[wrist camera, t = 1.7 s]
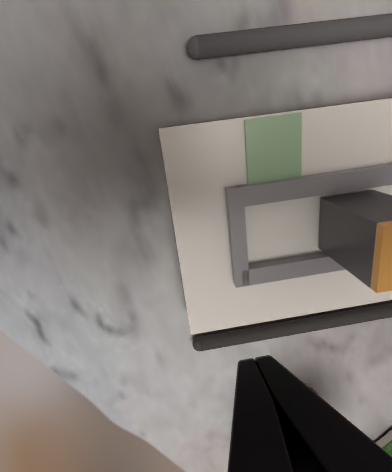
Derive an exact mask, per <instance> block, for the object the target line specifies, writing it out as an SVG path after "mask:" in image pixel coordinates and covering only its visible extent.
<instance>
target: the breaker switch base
mask: <svg viewBox="0 0 392 472" xmlns="http://www.w3.org/2000/svg"><path fill="white" fill-rule="evenodd" d="M159 135H160V141H161V148H162V154H163V161H164V167H165V173H166V180H167V186H168V192H169V199H170V205H171V212H172V218H173V224H174V231H175V237H176V243H177V250H178V256H179V263H180V269H181V275H182V282H183V288H184V294H185V301H186V307H187V314H188V320H189V326H190V333H191V335H193V334H198V333H204V332H210V331H215V330H221V329H227V328H233V327H238V326H244V325H250V324H256V323H261V322H267V321H273V320H279V319H284V318H290V317H296V316H302V315H307V314H313V313H319V312H325V311H330V310H336V309H342V308H348V307H353V306H359V305H365V304H371V303H376V302H382V301H388V300H392V291H387V292H381V293H376V292H374V291H373V290H372V289H370V288H369V287H368V286H367V285H365V284H364V283H363V282H361V281H360V280H359V279H358V278H356V277H355V276H354V275H352V274H351V273H350V272H348V271H347V270H346V269H345V268H343V267H342V266H341V265H339V264H338V263H337V262H336V261H334V260H333V259H332V258H330V257H329V256H328V255H326V254H325V253H324V252H323V251H321V250H320V249H319V223H320V198H321V197H328V196H335V195H341V194H348V193H355V192H362V191H368V190H376V191H379V192H382V193H386V194H389V195H392V98H388V99H380V100H372V101H365V102H357V103H349V104H342V105H334V106H326V107H319V108H311V109H303V110H296V111H288V112H280V113H273V114H265V115H257V116H250V117H242V118H234V119H227V120H219V121H211V122H204V123H196V124H188V125H181V126H173V127H165V128H159Z"/></svg>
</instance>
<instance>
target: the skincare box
mask: <svg viewBox="0 0 392 472" xmlns="http://www.w3.org/2000/svg"><path fill="white" fill-rule="evenodd" d="M375 443H376V444H377V445H378V446H380V447H381V448H382V449H383V450H384V451H386V452H387V453H388V454H389V455H390V456H392V430H390V431H389V432H388V433H387V434H386V435H385V436H383V437H382V438H381V439H379V440H378V441H377V442H375Z"/></svg>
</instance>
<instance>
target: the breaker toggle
mask: <svg viewBox="0 0 392 472" xmlns="http://www.w3.org/2000/svg"><path fill="white" fill-rule="evenodd" d="M319 249H320V250H321V251H323V252H324V253H325V254H326V255H328V256H329V257H330V258H332V259H333V260H334V261H336V262H337V263H338V264H339V265H341V266H342V267H343V268H345V269H346V270H347V271H348V272H350V273H351V274H352V275H354V276H355V277H356V278H358V279H359V280H360V281H361V282H363V283H364V284H365V285H367V286H368V287H369V288H370V289H372V290H373V291H374V292H376V293H381V292H387V291H392V195H389V194H386V193H382V192H379V191H376V190H368V191H362V192H355V193H348V194H341V195H335V196H328V197H321V198H320V223H319Z"/></svg>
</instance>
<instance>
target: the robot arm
mask: <svg viewBox="0 0 392 472" xmlns="http://www.w3.org/2000/svg"><path fill="white" fill-rule="evenodd" d="M228 472H392V456H390V455H389V454H388V453H387V452H386V451H384V450H383V449H382V448H381V447H380V446H378V445H377V444H376V443H375V442H374V441H372V440H371V439H370V438H369V437H368V436H366V435H365V434H364V433H363V432H362V431H360V430H359V429H358V428H357V427H356V426H354V425H353V424H352V423H351V422H350V421H348V420H347V419H346V418H345V417H344V416H342V415H341V414H340V413H339V412H338V411H336V410H335V409H334V408H333V407H332V406H330V405H329V404H328V403H327V402H326V401H324V400H323V399H322V398H321V397H320V396H318V395H317V394H316V393H315V392H314V391H312V390H311V389H310V388H309V387H308V386H306V385H305V384H304V383H303V382H302V381H300V380H299V379H298V378H297V377H296V376H294V375H293V374H292V373H291V372H290V371H288V370H287V369H286V368H285V367H284V366H282V365H281V364H280V363H279V362H278V361H276V360H275V359H274V358H273V357H272V356H269V355H267V356H261V357H256V358H255V360H254V359H252V358H250V359H245V360H240V361H239V362H238V368H237V378H236V389H235V399H234V410H233V420H232V431H231V441H230V451H229V462H228Z"/></svg>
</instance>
